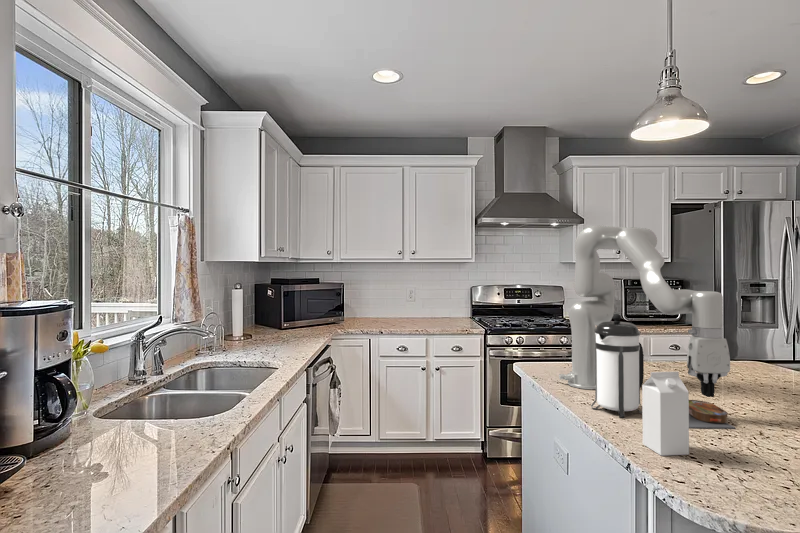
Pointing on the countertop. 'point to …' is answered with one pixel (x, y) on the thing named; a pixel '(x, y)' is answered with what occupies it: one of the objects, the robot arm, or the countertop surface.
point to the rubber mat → (707, 424)
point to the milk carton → (665, 414)
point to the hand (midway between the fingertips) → (707, 395)
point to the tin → (707, 412)
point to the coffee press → (618, 366)
